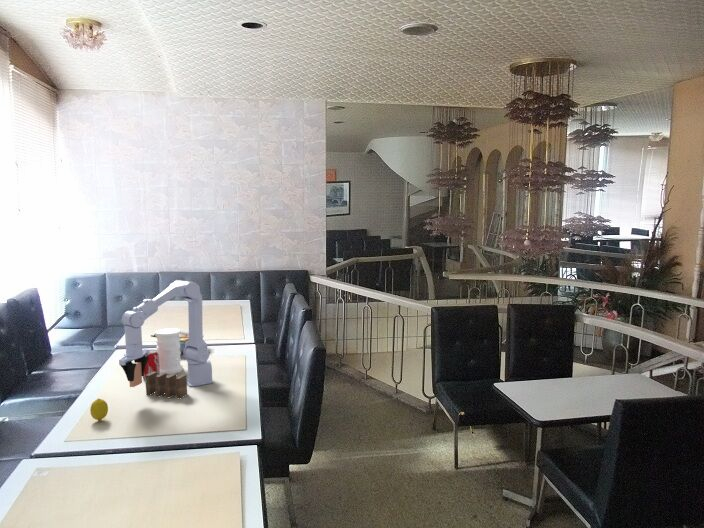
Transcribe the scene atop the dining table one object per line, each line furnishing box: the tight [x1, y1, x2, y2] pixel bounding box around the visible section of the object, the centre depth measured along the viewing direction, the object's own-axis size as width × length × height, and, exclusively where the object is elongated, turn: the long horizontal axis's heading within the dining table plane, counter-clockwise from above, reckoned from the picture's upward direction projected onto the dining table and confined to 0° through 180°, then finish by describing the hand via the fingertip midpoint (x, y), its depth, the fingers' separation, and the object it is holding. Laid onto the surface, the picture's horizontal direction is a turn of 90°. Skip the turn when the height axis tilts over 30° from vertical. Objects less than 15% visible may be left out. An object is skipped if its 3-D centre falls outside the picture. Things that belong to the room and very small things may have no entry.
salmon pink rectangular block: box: [128, 362, 143, 388], centre depth 203 cm, size 2×5×8 cm, turn 164°
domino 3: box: [165, 373, 178, 398], centre depth 213 cm, size 2×5×8 cm, turn 164°
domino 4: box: [175, 374, 188, 400], centre depth 212 cm, size 2×5×8 cm, turn 164°
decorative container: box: [154, 327, 184, 375], centre depth 243 cm, size 12×12×18 cm
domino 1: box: [145, 372, 157, 396], centre depth 215 cm, size 2×5×8 cm, turn 164°
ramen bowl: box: [150, 331, 205, 354], centre depth 274 cm, size 25×23×8 cm
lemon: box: [89, 398, 109, 422], centre depth 189 cm, size 6×6×8 cm
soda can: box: [142, 349, 160, 381], centre depth 232 cm, size 7×7×12 cm
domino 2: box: [155, 373, 168, 397], centre depth 214 cm, size 2×5×8 cm, turn 164°
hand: (135, 378), depth 203 cm, fingers closed on salmon pink rectangular block, 5 cm apart
